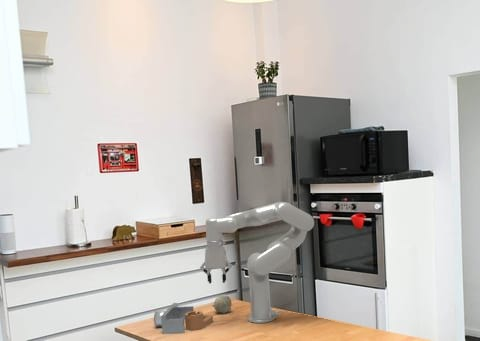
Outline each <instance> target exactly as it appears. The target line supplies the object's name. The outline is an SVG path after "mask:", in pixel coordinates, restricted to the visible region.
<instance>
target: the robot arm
mask: <svg viewBox="0 0 480 341" xmlns="http://www.w3.org/2000/svg"><path fill="white" fill-rule="evenodd" d="M281 220H282V221H283V222H285V223H287V224H289V225H291V227H290V228H289V230H288V232H286V233H284V234H283V235H282V236H280V237H279V238H277V239H276V240H274V241H273V242H271V243H270V244H268V246H267V247H266V251H264V252H262V253H261V252H254V253H252V254H250V255H249V257H248V259H247V262H246V263H247V264H246V265H247V266H246V267H247V274H248V284H249V299H250V301H249V302H250V314H251V315H250V316H248V318H247V319H248V322H250V323H255V324H265V323H270V322H273V321H274V320H276V319H275V316H278V317H279V316H281V311H279V310H273V309H272V308H271V294H270V293H271V292H270V278H269V276H270V275H269V274H271V273H272V272H273V271H275V270H277V269H279V267H282V265H284V264H286V263H287V262H288V261H289V259H291V255H292V252H293V251H294V250H296V249H297V248H298V247H300V245H301V244H302V243H304V241H305V239H306V236H307V233H308V232H309V231H311V230H312V229H313V228H314V226H315V220H314V218H313V216H312V215H311V214H309V213H307V212H306V211H304V210H302V209H300V208H298V207H296V206H295V205H292V204H291V203H289V202H285V201H278V202H274V203H270V204H267V205H264V206H259V207H255V208H252V209H250V210H245V211H241V212H237V213H234V214H230V215H226V216H224V217H223V218H218V217H212V218H207V219H205V236H206V247H205V251H204V253H205V254H204V262H202V264H201V265H200V267H199V269H200V270H202V272H203V273H204V274H206V275H207V276H206V277H207V282H208V284H211V283H212V273H211V271H212V270H216V269H217V270H220V269H221V272H222V276H221V278H222V284H225V283H226V282H227V273H228V272H229V271H230V269H231V268H232V267H233V264H232V263H231V262H229V261H228V259H227V251H226V247H225V246H224V245H226V242H227V241H224V239H223V234H226V233H227V234H232V233H235V232H237V230H238V229H243V228H247V227H258V226H263V225H267V224H270V223H273V222H277V221H281ZM226 267H227V268H226Z"/></svg>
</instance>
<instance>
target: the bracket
mask: <svg viewBox="0 0 480 341" xmlns="http://www.w3.org/2000/svg"><path fill="white" fill-rule="evenodd" d="M212 323H214V317H213V315H212V314H204V312H203V311H201V310H200V311H199V310H198V311H197V312H196V310H194V311H191V312H187V313H185V320H184V324H185V330H187V331H191V332H194V331H199V330H202V329H205V328H206V327H207V326H209V325H210V324H212Z"/></svg>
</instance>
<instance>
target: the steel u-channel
mask: <svg viewBox="0 0 480 341" xmlns="http://www.w3.org/2000/svg"><path fill="white" fill-rule="evenodd" d="M191 311H195V308H194V305H191V306H178V302H173V303H172V304H171V305H170V306H169V307H168V308H167V309H166V310H158V311H155V312H154V315H153V324H154V327H156V328H157V327H159V328H160V327H161V334H163V335H164V334H185V330H186V328H185V313H187V312H191Z"/></svg>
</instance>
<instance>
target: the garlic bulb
mask: <svg viewBox="0 0 480 341" xmlns="http://www.w3.org/2000/svg"><path fill="white" fill-rule="evenodd" d="M212 307H213V308H214V311H215V312H216V313H217V314H218V313H219V314H227V313H228V312H230V311H232V299H231V298H230V296H229V295H226V294H224V295H219V296H218V297H216V298H215V301H214V302H213V304H212Z"/></svg>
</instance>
